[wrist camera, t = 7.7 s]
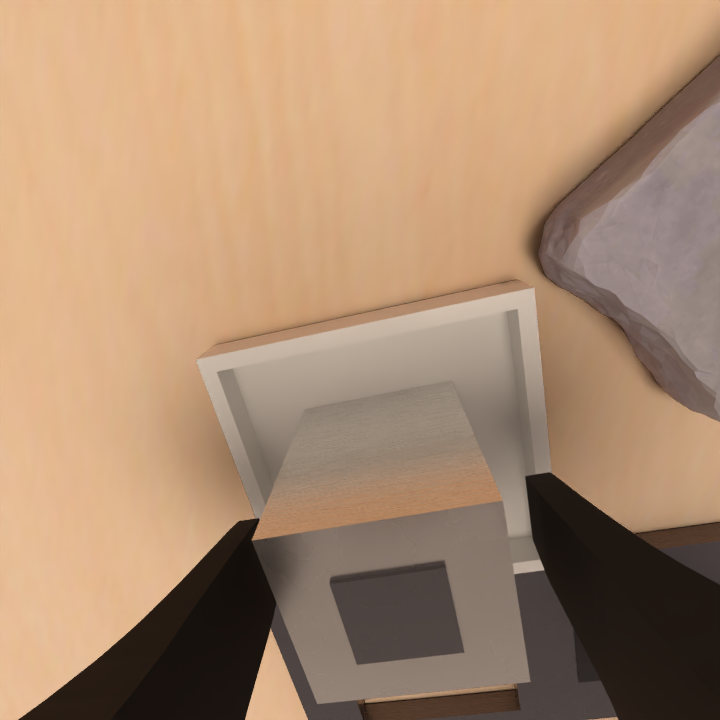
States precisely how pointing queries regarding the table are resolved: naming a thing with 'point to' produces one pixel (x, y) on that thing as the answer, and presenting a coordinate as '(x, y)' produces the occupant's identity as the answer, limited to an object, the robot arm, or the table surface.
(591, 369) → the table surface
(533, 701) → the plate with square cutout
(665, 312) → the stone block
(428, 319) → the tray
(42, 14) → the table surface
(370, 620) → the cube with square inset
